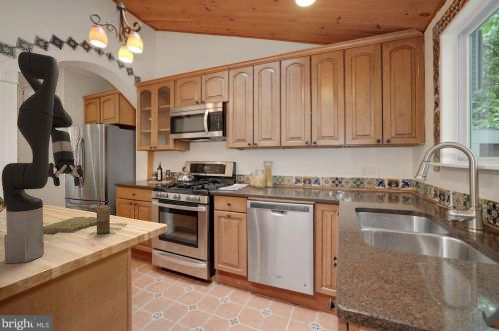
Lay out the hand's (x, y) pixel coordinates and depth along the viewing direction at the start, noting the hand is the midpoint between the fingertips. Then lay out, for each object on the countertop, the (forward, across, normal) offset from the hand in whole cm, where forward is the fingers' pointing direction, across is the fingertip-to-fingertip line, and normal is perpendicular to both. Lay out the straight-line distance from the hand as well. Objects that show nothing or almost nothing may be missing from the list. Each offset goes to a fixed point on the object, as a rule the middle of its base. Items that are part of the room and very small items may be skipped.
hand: (67, 185), depth 107 cm
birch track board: (+25, +10, -8) cm, 28 cm away
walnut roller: (+25, +5, -11) cm, 28 cm away
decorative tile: (+19, +8, +10) cm, 23 cm away
